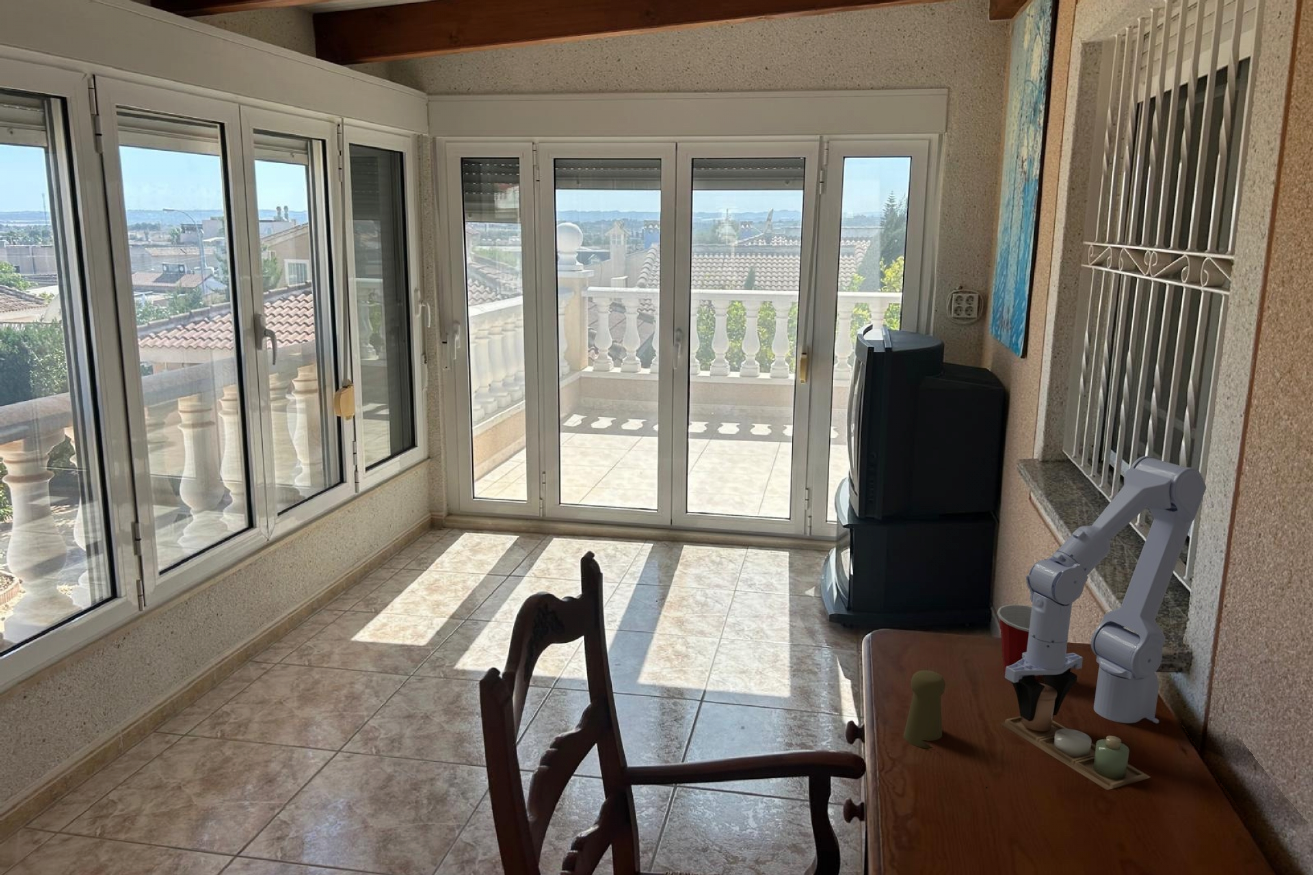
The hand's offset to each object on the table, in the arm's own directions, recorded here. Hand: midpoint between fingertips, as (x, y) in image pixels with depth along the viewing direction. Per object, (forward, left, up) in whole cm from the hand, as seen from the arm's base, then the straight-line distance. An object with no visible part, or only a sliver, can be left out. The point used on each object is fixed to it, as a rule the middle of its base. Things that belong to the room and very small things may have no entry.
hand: (1038, 715), depth 158 cm
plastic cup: (-14, -17, -4) cm, 22 cm away
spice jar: (0, 0, -2) cm, 2 cm away
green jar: (0, +14, -2) cm, 14 cm away
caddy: (0, +7, -3) cm, 8 cm away
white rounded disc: (0, +7, -2) cm, 7 cm away
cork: (+18, -6, -4) cm, 19 cm away
